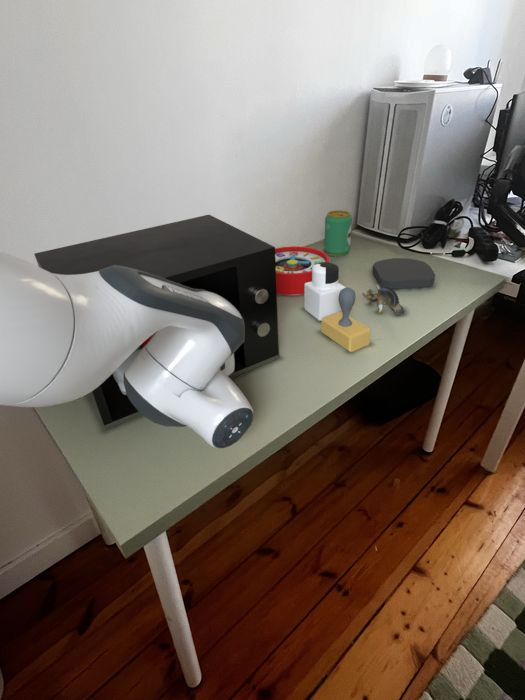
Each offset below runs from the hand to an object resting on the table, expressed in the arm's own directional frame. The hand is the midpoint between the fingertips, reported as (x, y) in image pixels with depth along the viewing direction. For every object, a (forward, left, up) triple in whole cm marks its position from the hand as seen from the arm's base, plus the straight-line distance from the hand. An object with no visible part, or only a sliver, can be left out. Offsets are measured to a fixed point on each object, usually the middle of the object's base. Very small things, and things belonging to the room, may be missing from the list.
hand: (156, 337), depth 80 cm
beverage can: (+70, +31, -10) cm, 77 cm away
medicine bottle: (+42, +3, -10) cm, 43 cm away
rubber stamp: (+38, -9, -10) cm, 40 cm away
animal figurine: (+54, -5, -10) cm, 55 cm away
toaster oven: (+4, +6, -10) cm, 12 cm away
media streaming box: (+71, +5, -10) cm, 72 cm away
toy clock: (+47, +23, -10) cm, 53 cm away
